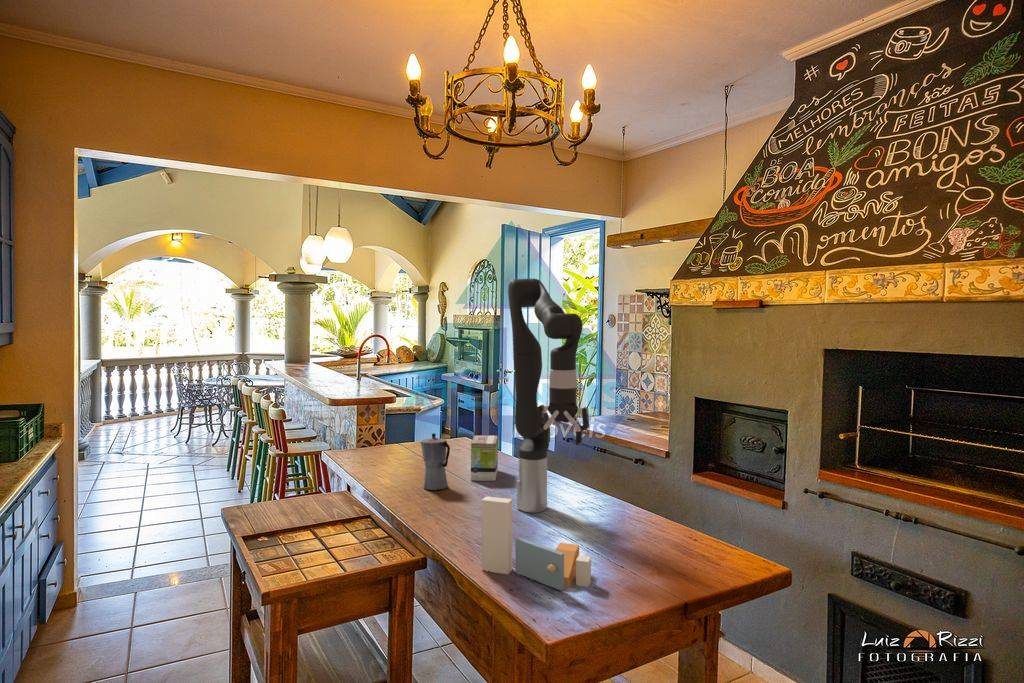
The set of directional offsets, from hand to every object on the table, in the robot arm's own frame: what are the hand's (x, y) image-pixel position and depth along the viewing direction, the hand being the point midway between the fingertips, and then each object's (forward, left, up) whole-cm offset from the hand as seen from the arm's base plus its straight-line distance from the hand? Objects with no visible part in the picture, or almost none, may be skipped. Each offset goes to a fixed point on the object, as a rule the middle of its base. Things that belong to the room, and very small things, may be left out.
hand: (562, 443), depth 160 cm
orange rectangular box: (+5, -20, -28) cm, 35 cm away
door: (0, -26, -27) cm, 38 cm away
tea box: (-45, +54, -28) cm, 76 cm away
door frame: (-2, -22, -28) cm, 36 cm away
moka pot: (-56, +34, -28) cm, 71 cm away
